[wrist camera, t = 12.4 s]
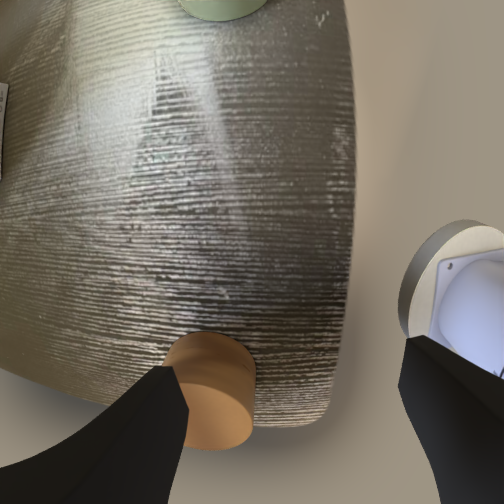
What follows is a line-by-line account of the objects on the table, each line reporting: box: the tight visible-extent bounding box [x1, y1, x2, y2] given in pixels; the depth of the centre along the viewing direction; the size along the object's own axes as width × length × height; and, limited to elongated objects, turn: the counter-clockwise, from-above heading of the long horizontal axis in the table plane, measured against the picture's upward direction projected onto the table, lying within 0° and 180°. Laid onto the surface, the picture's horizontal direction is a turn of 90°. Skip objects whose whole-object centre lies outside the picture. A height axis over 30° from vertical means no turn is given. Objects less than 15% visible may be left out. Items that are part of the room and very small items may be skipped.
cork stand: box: [162, 332, 256, 450], centre depth 18 cm, size 7×7×6 cm
